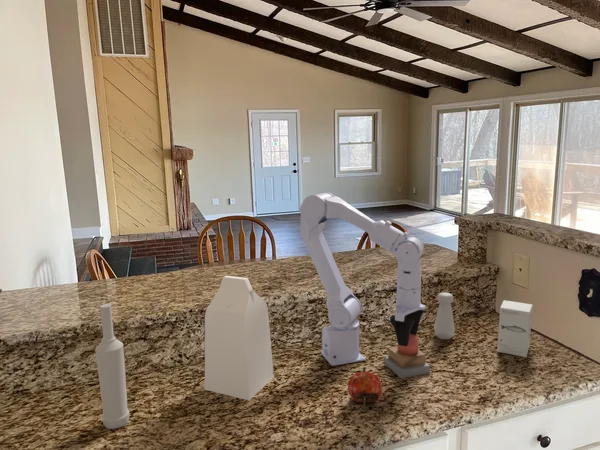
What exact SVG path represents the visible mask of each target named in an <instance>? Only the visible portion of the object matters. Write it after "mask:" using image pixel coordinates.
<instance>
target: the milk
mask: <svg viewBox="0 0 600 450" xmlns="http://www.w3.org/2000/svg"><path fill="white" fill-rule="evenodd" d="M269 319H270V318H269V307H268V304H267V303H266V301H265V300H264V299H263V298H262V297H261V296H260V295H258V293H257V292H255V291H254V290H253V287H252V284H251V283H250V280H249V278H248V277H242V276H236V275H235V276H233V275H225V276H223V277H222V279H221V283H220V284H219V288H218V290H217V292H216V293H215V295H214V297H213V298H212V299H211V301H210V303H209V305H208V307H207V309H206V310H205V314H204V390H205V391H208V392H212V393H213V392H214V393H217V394H219V395H220V394H222V395H225V396H228V397H229V396H230V397H234V398H236V399H237V398H238V399H241V400H245V401H251V400H252V398H254V397H255V396H256V395H257V394H258V393H259V392H260V391H261V390H262V389H263V388H265V387H266V386H267V384H268V383H269V382H271V380H272V379H274V378H275V375H274V374H275V373H274V363H273V362H274V361H273V352H272V343H271V342H272V340H271V330H270V329H271V328H270V320H269Z"/></svg>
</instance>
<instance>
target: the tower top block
mask: <svg viewBox="0 0 600 450" xmlns="http://www.w3.org/2000/svg"><path fill="white" fill-rule="evenodd" d="M426 355H427V354H426V353H424V352H422V351H421V350H420V349H419V348H418V354H416V355H411V356H409V355H403V354H401V353H399V352H398V345H397V346H392V347H388V357H389V358H390V359H391V360H392V361H394V362H395V363H396V364H397V365H399V366H400V367H401V368H402V369H403V368H407V367H412V366H417V365H422V364H425V362H426Z"/></svg>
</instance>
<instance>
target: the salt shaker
mask: <svg viewBox="0 0 600 450" xmlns="http://www.w3.org/2000/svg"><path fill="white" fill-rule="evenodd" d="M437 302H439V305H438V309H437V312H436V313H437V314H436V317H435V322H434V326H433V330H434V333H435V335H436V338H437V339H440V340H450V339H452V338H453V336H454V334H455V331H456V329H455V322H454V315H453V309H452V303H453V302H454V296H453V294H452V293H449V292H444V291H443V292H439V293H438V294H437Z"/></svg>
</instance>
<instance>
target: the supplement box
mask: <svg viewBox="0 0 600 450" xmlns="http://www.w3.org/2000/svg"><path fill="white" fill-rule="evenodd" d="M533 306H534V304H531V303H527V302H526V303H524V302H518V301H512V300H505V299H504V300H503V301H502V303H501V305H500V308H499V320H498V322H499V323H498V335H497V336H498V337H497V347H496V348H497V350H496V351H497V353H504V354H509V355H514V356H518V357H523V358H527V357H528V354H529V349H530V339H531V329H532V328H531V327H532V317H533V316H532V314H533Z"/></svg>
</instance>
